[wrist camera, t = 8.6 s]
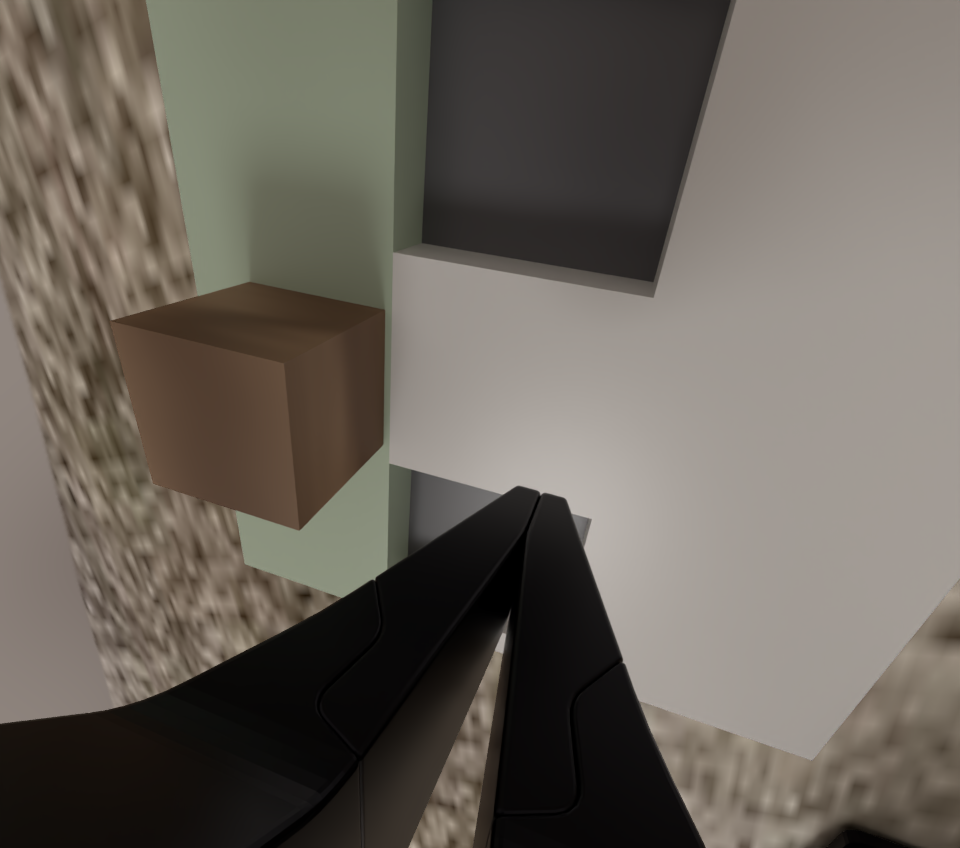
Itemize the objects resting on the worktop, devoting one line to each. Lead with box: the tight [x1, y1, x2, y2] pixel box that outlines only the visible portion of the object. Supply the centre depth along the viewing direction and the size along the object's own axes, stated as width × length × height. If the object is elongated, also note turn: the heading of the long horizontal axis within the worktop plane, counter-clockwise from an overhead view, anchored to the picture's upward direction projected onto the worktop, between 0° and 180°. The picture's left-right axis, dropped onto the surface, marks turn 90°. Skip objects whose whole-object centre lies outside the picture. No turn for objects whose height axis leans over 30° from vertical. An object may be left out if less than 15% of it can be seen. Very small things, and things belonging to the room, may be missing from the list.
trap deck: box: [146, 0, 960, 761], centre depth 13 cm, size 20×19×2 cm
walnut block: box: [110, 282, 385, 531], centre depth 12 cm, size 4×4×4 cm
